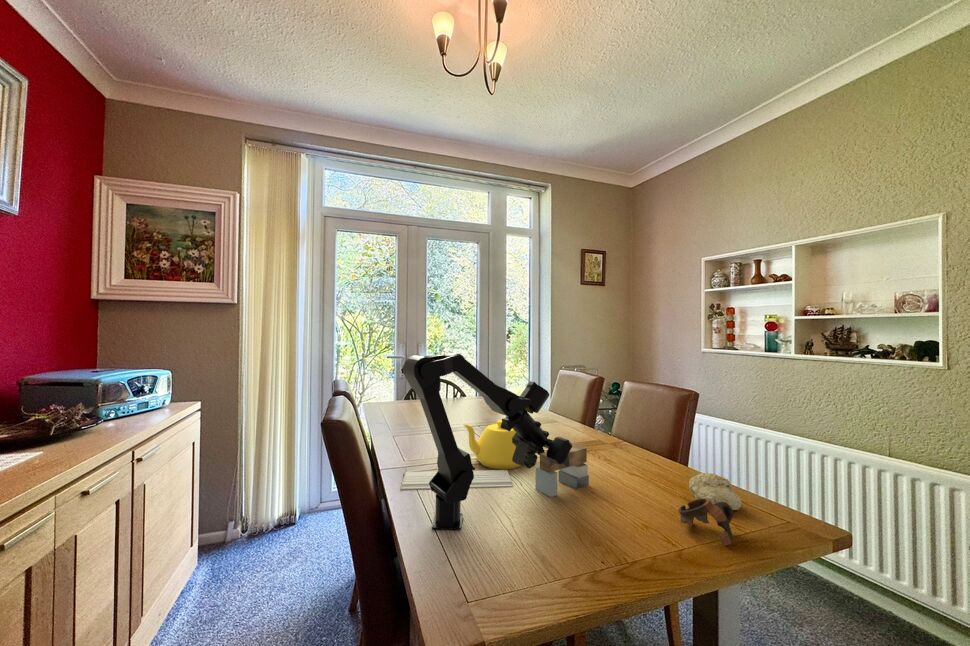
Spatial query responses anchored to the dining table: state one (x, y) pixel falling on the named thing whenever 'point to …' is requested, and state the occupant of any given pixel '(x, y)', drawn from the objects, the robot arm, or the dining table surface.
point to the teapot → (493, 446)
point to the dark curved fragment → (704, 506)
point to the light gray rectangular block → (546, 482)
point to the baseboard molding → (480, 481)
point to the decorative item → (714, 489)
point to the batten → (575, 458)
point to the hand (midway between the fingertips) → (555, 460)
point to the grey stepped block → (575, 476)
